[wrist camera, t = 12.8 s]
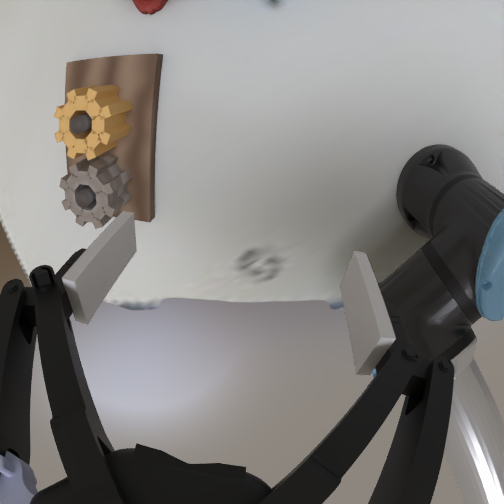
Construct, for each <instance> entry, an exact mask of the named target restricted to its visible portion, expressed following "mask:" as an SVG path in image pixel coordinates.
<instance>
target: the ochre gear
mask: <svg viewBox="0 0 504 504" xmlns="http://www.w3.org/2000/svg"><path fill="white" fill-rule="evenodd" d="M119 89H120V88H118V87H116V86H114V85H106V86H98V85H96V86H89V87H83V88H78V89H74V90H72V91H70V92H69V93H67V97H68V102H67V103H66V105H62V106H59V107H57V108H56V112H55V115H54V117H56V118H58V119H59V131H58V132H56V133H54V134H55V137H56V140H57V143H58V142H61V141H63V142H64V143H65V145H66V146H67V147H68V148H69V149H68V152H67V156H69V157H71V158H72V159H76V158H78V157H80V156H82V155H83V154H86V157H87V159H88V160H90V159H93V158H95V157H97V156H99V155H101V154H103V153H104V152H106V151H108V150H110V149H112V148H114V147H116V146H117V144H116V140H118V139H120V138H122V137H125V136H127V135H128V133H129V131H130V128H131V126H130V125H128V124H126V112H127V111H130V110H132V106H131V103H130V100H128V101H123V102H122V100H121V99H120V98H119V97H118V95H117V94H118V91H119ZM86 113H88V114H89V116H90V117H91V118H92V129H90V130H87V131H85V132H82V133H80V134H74V133H73V132H72V131H71V129H70V122H71V120H72V119H73V118H74V117H76V116H80V115H83V114H86Z"/></svg>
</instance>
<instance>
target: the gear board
mask: <svg viewBox="0 0 504 504" xmlns="http://www.w3.org/2000/svg"><path fill="white" fill-rule="evenodd" d="M162 58H163V55H161V54H141V55H125V56H113V57H103V58H95V59H87V60H80V61H74V62H68V63H67V67H66V84H65V105H66V103H67V102H68V97H67V93H69V92H70V91H72V90H74V89H78V88H83V87H89V86H96V85H98V86H106V85H114V86H116V87H118V88H120V89H119V91H118V94H117V95H118V97H119V98H120V99H121V100H122V102H123V101H128V100H130V103H131V106H132V110H130V111H127V112H126V124H128V125H130V126H131V128H130V131H129V133H128V135H127V136H125V137H122V138H120V139H118V140H116V144H117V146H116V147H114V148H112V149H110V150H108V151H106V152H104V153H103V154H101V155H99V156H97V157H95V158H93V159H90V160H88V159H87V157H86V154H83V155H82V156H80V157H78V158H76V159H72V158H71V157H69V156H67V152H68V149H69V148H68V147H67V146H66V158H67V171H68V174H67V175H66V176H64V177H63V178H61V182H60V187H61V188H62V189H64V190H65V198H66V199H65V200H63V201H62V204H63V206H64V209H65V210H68V209H70V210H71V211H72V212H73V213H74V214H75V215H76V223H78V224H79V225H81V226H84V225H85V224H86V223H87V222H92V223H93V224H94V226H95V229H97V228H100V227H103V226H104V225H105V224H106V223H107V222H108V221H109V220H110V219H111V218H112V217H113V216H114V217H118V216H119V215H120V214H121V213H122V212H123V211H125V212H132V213H134V220H139V221H145V222H151V220H152V219H153V218H154V217H155V214H154V177H155V143H156V124H157V109H158V97H159V85H160V76H161V67H162ZM70 129H71V131H72V132H73V133H74V134H80V133H82V132H85V131H87V130H90V129H92V118H91V117H90V116H89V114H88V113H86V114H83V115H80V116H76V117H74V118H73V119H72V120H71V122H70Z"/></svg>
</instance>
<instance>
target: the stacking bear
mask: <svg viewBox="0 0 504 504" xmlns="http://www.w3.org/2000/svg"><path fill="white" fill-rule="evenodd" d="M133 2H134V4H135V6H136V7H137V9H138V10H139V11H140V12H141V13H143V14H147V13H149V14H153V13H155V12H156V11H159V10H161V9H162V8H163V6H164V5H165V3H166V2H167V0H133Z"/></svg>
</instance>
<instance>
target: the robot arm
mask: <svg viewBox="0 0 504 504" xmlns="http://www.w3.org/2000/svg"><path fill="white" fill-rule="evenodd" d="M397 202H398V207H399V210H400V212H401V214H402V216H403V218H404V219H405V220H406V222H407V223H408V225H409V226H410V227H411V228H412V229H413V230H414V231H415V232H417V233H418V234H420V235H422V236H424V237H426V238H428V239H430V240H429V241H428V242H427V243H426V244H425V245H424V246H423V247H421V248H420V249H419V250H418V251H417V252H416V253H415V254H414V255H413V256H412V257H410V258H409V259H408V260H407V261H406V262H405V263H404V264H403V265H401V266H400V267H399V268H398V269H397V270H396V271H394V272H393V273H392V274H391V275H390V276H389V277H387V278H386V279H385V280H384V281H383V282H381V283H377V281H376V278H375V275H374V273H373V270H372V267H371V265H370V262H369V260H368V257H367V255H366V253H364V252H359V251H354V252H353V255H352V258H351V260H350V263H349V265H348V268H347V270H346V273H345V275H344V278H343V280H342V283H341V285H340V290H341V294H342V299H343V304H344V309H345V314H346V319H347V324H348V330H349V335H350V341H351V346H352V352H353V359H354V365H355V371H356V374H359V375H370V374H373V377H374V379H373V380H372V381H371V383H370V384H369V385H368V386H367V388H366V389H365V391H364V392H363V393H362V395H361V396H360V397H359V398H358V400H357V401H356V402H355V404H354V405H353V406H352V407H351V408H350V409H349V411H348V412H347V413H346V414H345V415H344V417H343V418H342V419H341V420H340V421H339V423H338V424H337V425H336V426H335V427H334V428H333V429H332V430H331V431H330V433H329V434H328V435H327V436H326V437H325V438H324V439H323V440H322V441H321V442H320V443H319V444H318V446H317V447H316V448H315V449H314V450H313V451H312V452H311V453H310V454H309V455H308V456H307V457H306V458H305V459H304V460H303V461H302V462H301V463H300V464H299V465H298V466H297V467H296V468H294V469H293V470H292V471H291V472H290V473H289V474H288V475H287V476H286V477H285V478H283V479H282V480H281V481H280V482H279V483H278V484H277V485H275V486H274V487H273V488H272V489H271V488H270V487H269V486H268V485H267V484H266V483H265V482H264V481H262V480H261V479H259V478H258V477H256V476H254V475H252V474H250V473H247V472H246V467H242V466H234V465H227V464H221V463H212V464H211V463H210V464H188V463H185V462H183V461H181V460H179V459H177V458H175V457H173V456H171V455H169V454H167V453H165V452H163V451H161V450H157V449H153V448H150V447H147V446H143V445H140V444H136V448H129V449H128V448H127V449H120V450H116V451H114V449H113V447H112V445H111V443H110V441H109V440H108V438H107V436H106V434H105V431H104V429H103V426H102V424H101V421H100V419H99V416H98V413H97V411H96V408H95V405H94V403H93V400H92V397H91V394H90V391H89V388H88V385H87V381H86V378H85V375H84V372H83V368H82V365H81V361H80V358H79V354H78V350H77V346H76V342H75V338H74V334H73V330H72V325H71V321H70V319H69V317H70V316H71V314H72V313H73V314H74V317H75V319H76V321H79V322H82V323H85V324H88V323H89V322H90V320H91V319H92V317H93V315H94V314H95V312H96V311H97V309H98V307H99V306H100V304H101V303H102V301H103V300H104V298H105V297H106V295H107V294H108V292H109V290H110V289H111V287H112V286H113V284H114V283H115V281H116V280H117V279H118V277H119V276H120V274H121V273H122V271H123V270H124V268H125V267H126V265H127V264H128V263H129V261H130V260H131V258H132V257H133V255H134V254H135V253H136V251H137V250H136V237H135V222H134V213H132V212H125V211H123V212H122V213H121V214H120V215H119V216H118V217H117V218H116V219H115V220H114V221H113V222H112V223H111V224H110V225H109V226H108V227H107V228H106V229H105V230H104V231H103V232H102V233H101V234H100V235H99V236H98V237H97V239H96V240H95V241H94V242H93V243H92V244H91V245H90V246H89V247H88V248H87V249H83V248H82V249H80V250H79V251H77V252H75V253H74V254H73V255H72V256H71V257H70V258H69V260H68V261H67V262H66V263H65V264H64V265H63V266H62V267H61V269H60V270H59V271H58V272H57V273H56V274H54V271H53V268H52V267H51V266H48V265H42V266H39V267H36V268H35V269H34V270H32V272H31V273H30V276H29V278H30V281H31V284H32V286H33V287H24V285H23V282H22V281H21V280H19V279H13V280H10V281H9V282H7V283H6V284H5V285H4V287H3V289H2V291H1V294H0V503H1V504H322V503H323V502H324V501H325V500H326V499H327V498H328V497H329V496H330V495H331V493H332V492H333V491H334V490H335V489H336V488H337V486H338V485H339V484H340V482H341V478H342V477H343V475H344V474H345V473H346V472H347V470H348V469H349V468H350V467H351V466H352V464H353V463H354V462H355V461H356V459H357V458H358V457H359V455H360V454H361V453H362V452H363V450H364V449H365V448H366V446H367V445H368V444H369V442H370V441H371V439H372V438H373V437H374V435H375V434H376V432H377V431H378V429H379V428H380V427H381V425H382V424H383V422H384V421H385V419H386V418H387V416H388V415H389V413H390V411H391V410H392V408H393V407H394V405H395V404H396V402H397V400H398V399H399V397H400V395H401V394H403V395H406V397H405V401H404V405H403V408H402V412H401V416H400V419H399V422H398V426H397V429H396V432H395V436H394V439H393V442H392V445H391V448H390V450H389V453H388V456H387V459H386V462H385V464H384V467H383V470H382V472H381V475H380V477H379V480H378V482H377V485H376V487H375V489H374V492H373V494H372V496H371V499H370V501H369V503H368V504H430V503H431V499H432V496H433V493H434V490H435V486H436V483H437V479H438V475H439V471H440V467H441V462H442V458H443V454H444V455H445V458H446V460H447V462H448V464H449V467H450V469H451V471H452V473H453V476H454V478H455V481H456V483H457V486H458V488H459V491H460V493H461V496H462V498H463V501H464V503H465V504H504V422H503V419H502V417H501V414H500V412H499V409H498V407H497V405H496V403H495V400H494V398H493V396H492V394H491V392H490V389H489V387H488V385H487V383H486V381H485V379H484V377H483V375H482V373H481V371H480V369H479V367H478V365H477V363H476V361H475V359H474V351H475V346H476V342H477V338H476V336H475V334H474V332H473V330H472V329H471V325H472V324H474V323H475V322H476V321H477V320H478V319H479V318H481V317H482V316H483V317H484V318H487V319H488V320H491V321H498V320H501V319H503V317H504V194H503V193H502V192H500V191H499V190H497V189H496V188H495V187H493V186H492V185H491V184H489V183H488V182H486V181H485V180H483V179H482V177H481V175H480V174H479V172H478V171H477V169H476V167H475V166H474V164H473V163H472V161H471V160H470V159H469V158H468V157H467V156H466V155H465V154H463V153H462V152H460V151H458V150H457V149H455V148H453V147H450V146H447V145H432V146H429V147H426V148H424V149H422V150H420V151H419V152H417V153H416V154H415V155H414V156H413V157H412V158H411V159H410V160H409V161H408V162H407V164H406V165H405V167H404V169H403V171H402V173H401V175H400V178H399V181H398V186H397ZM37 335H38V343H39V351H40V357H41V364H42V370H43V375H44V380H45V385H46V390H47V395H48V399H49V403H50V407H51V411H52V416H53V418H52V419H51V420H50V424H51V429H52V432H53V435H54V439H55V442H56V445H57V449H58V452H59V455H60V457H61V460H62V463H63V466H64V469H65V471H66V474H67V477H66V478H65V479H63V480H61V481H59V482H57V483H55V484H53V485H51V486H49V487H47V488H45V489H43V490H41V491H39V492H38V491H37V489H36V483H37V481H36V478H35V476H34V473H33V470H32V469H31V467H30V466H29V463H30V396H31V395H30V394H31V380H32V368H33V359H34V350H35V343H36V336H37Z"/></svg>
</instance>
